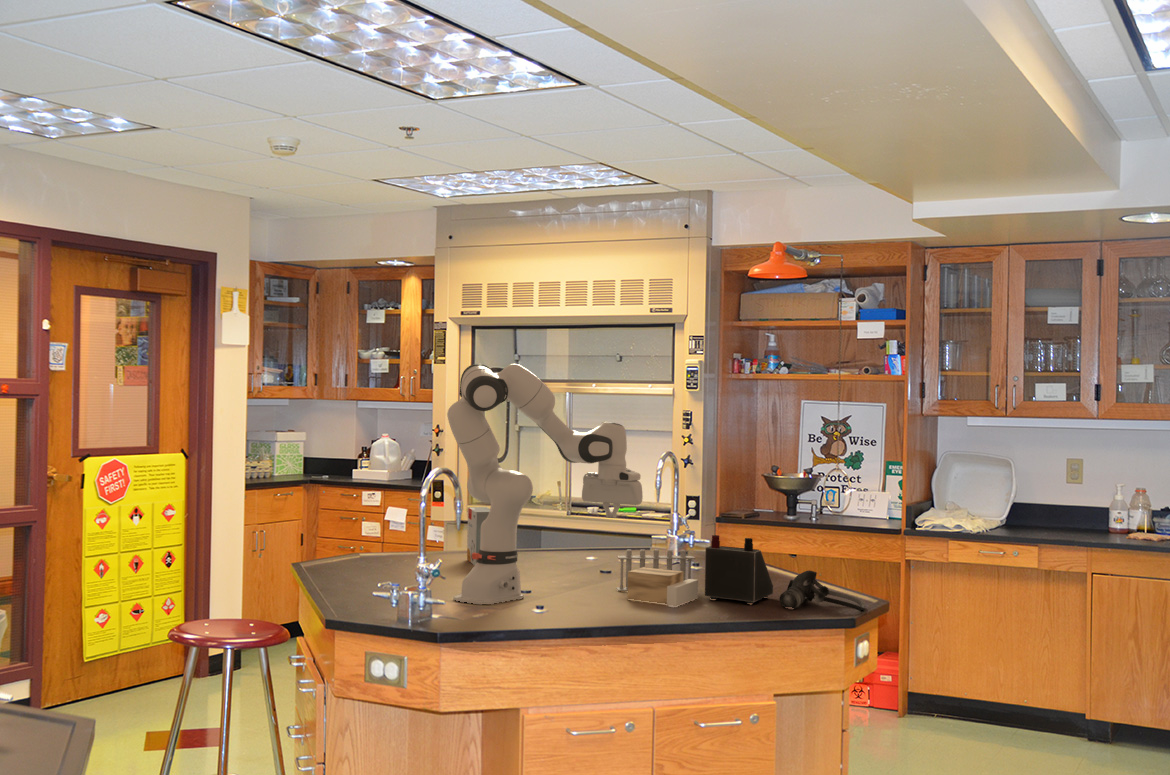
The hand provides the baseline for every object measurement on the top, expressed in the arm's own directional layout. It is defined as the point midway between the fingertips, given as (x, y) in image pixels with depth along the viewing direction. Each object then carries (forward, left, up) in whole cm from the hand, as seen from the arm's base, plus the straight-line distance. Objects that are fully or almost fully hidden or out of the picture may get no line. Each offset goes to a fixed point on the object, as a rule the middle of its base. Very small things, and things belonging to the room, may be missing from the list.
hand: (611, 517), depth 324 cm
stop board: (0, -25, -24) cm, 35 cm away
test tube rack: (+14, -9, -24) cm, 29 cm away
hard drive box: (+27, +69, -24) cm, 78 cm away
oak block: (-1, -16, -24) cm, 29 cm away
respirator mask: (+19, -63, -25) cm, 70 cm away
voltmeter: (+16, -37, -24) cm, 47 cm away
